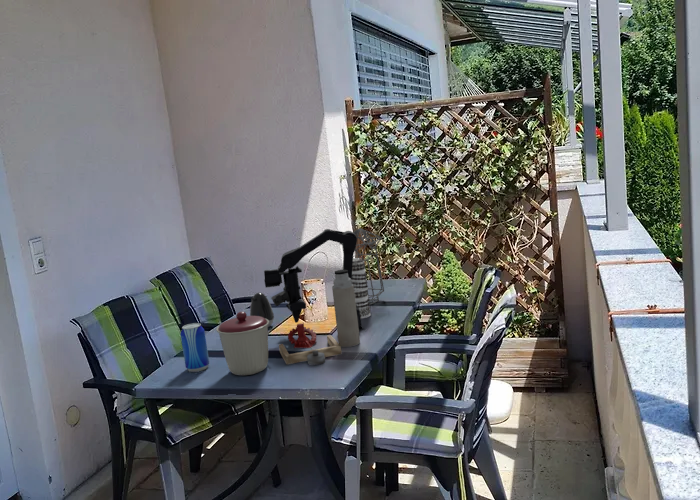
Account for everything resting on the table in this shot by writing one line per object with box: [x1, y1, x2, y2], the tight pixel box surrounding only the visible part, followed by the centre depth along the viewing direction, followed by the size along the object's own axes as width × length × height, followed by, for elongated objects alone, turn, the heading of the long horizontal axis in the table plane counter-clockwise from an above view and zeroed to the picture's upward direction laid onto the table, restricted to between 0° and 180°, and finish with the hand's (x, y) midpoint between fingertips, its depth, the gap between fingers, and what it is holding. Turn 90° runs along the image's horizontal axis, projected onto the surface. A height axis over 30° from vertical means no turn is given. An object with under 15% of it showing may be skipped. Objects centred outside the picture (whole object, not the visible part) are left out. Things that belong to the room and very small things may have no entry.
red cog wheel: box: [287, 322, 317, 349], centre depth 249 cm, size 11×12×8 cm
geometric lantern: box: [339, 227, 385, 306], centre depth 300 cm, size 16×16×35 cm
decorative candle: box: [352, 257, 372, 320], centre depth 279 cm, size 9×9×25 cm
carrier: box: [278, 334, 343, 366], centre depth 235 cm, size 20×22×4 cm
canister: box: [215, 311, 269, 376], centre depth 225 cm, size 18×18×21 cm
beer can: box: [180, 322, 210, 373], centre depth 234 cm, size 8×8×16 cm
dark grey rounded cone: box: [249, 292, 275, 328], centre depth 279 cm, size 10×10×15 cm
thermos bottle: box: [331, 269, 361, 348], centre depth 242 cm, size 8×8×28 cm
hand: (296, 322), depth 260 cm, fingers closed
